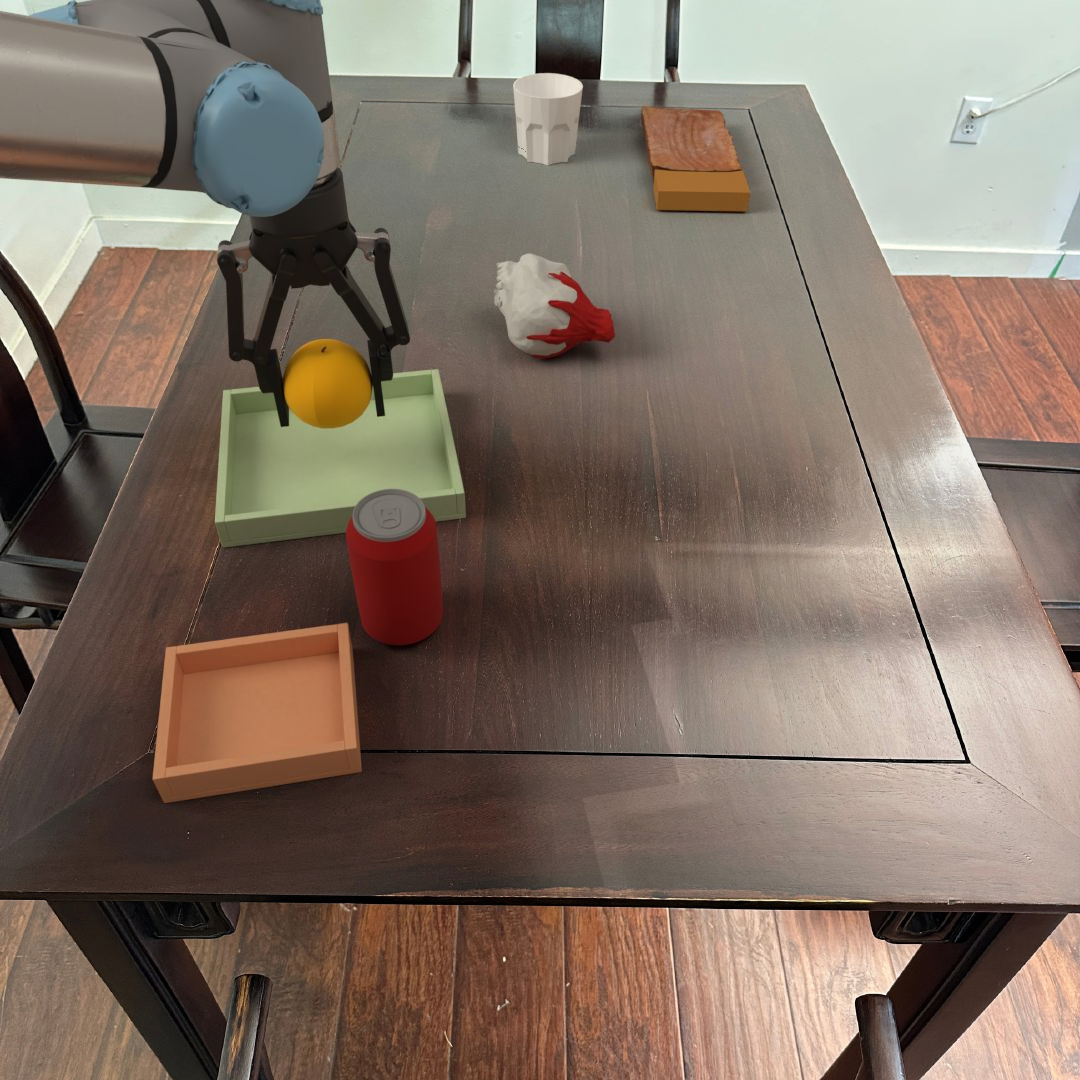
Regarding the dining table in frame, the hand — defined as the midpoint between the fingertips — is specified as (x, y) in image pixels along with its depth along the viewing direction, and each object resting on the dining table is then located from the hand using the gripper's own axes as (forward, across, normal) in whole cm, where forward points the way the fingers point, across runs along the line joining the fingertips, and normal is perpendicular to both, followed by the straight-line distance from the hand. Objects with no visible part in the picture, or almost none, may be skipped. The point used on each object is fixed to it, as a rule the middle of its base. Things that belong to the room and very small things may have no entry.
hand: (332, 412), depth 89 cm
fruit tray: (+6, 0, 0) cm, 6 cm away
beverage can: (+6, -4, +21) cm, 22 cm away
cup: (+6, -34, -68) cm, 76 cm away
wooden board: (+6, -54, -60) cm, 81 cm away
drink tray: (+6, +7, +29) cm, 30 cm away
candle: (+6, -24, -17) cm, 30 cm away
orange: (0, 0, 0) cm, 0 cm away
